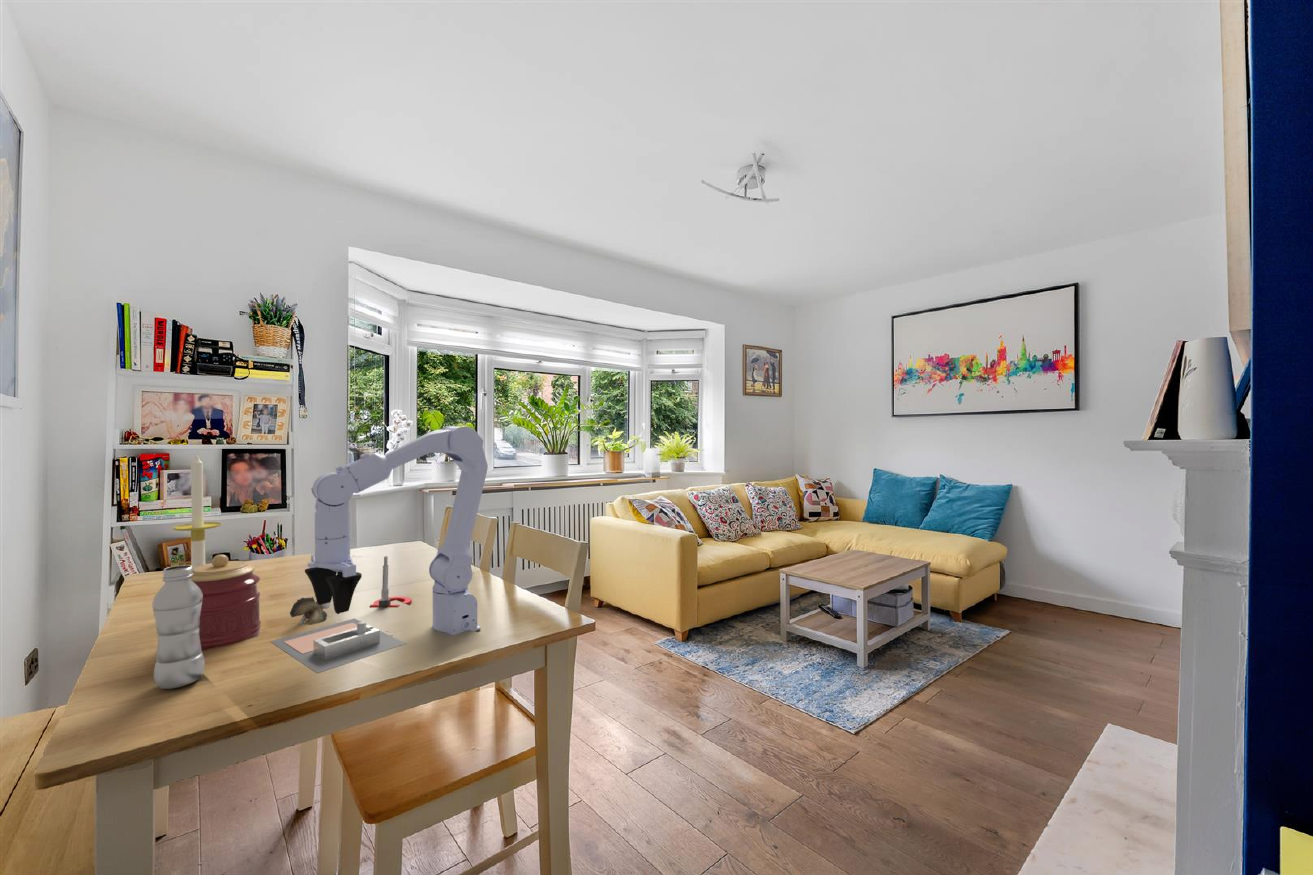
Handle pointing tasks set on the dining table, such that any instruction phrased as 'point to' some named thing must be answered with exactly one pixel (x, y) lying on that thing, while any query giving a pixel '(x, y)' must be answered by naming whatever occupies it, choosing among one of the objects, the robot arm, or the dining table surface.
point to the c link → (345, 642)
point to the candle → (197, 516)
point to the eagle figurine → (309, 611)
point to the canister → (227, 602)
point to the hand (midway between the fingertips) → (333, 607)
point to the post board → (303, 642)
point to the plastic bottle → (178, 629)
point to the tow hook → (386, 600)
